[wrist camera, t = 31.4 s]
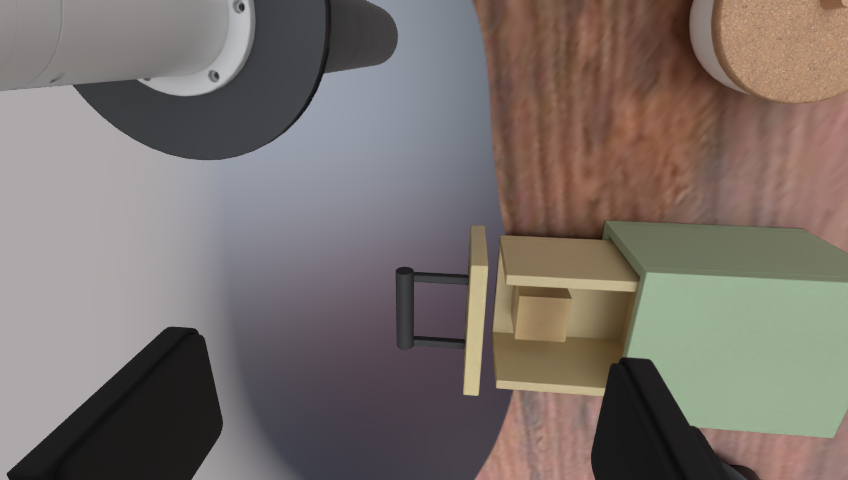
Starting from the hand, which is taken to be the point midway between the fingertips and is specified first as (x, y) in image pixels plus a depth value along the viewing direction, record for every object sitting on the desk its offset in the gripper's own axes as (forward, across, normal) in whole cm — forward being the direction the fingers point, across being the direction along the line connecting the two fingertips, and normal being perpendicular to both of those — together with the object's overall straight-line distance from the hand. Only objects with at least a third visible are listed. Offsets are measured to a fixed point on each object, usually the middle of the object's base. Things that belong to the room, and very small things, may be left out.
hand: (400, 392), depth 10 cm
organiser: (+28, -21, +12) cm, 37 cm away
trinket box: (+28, -20, -10) cm, 36 cm away
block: (+26, -8, +12) cm, 30 cm away
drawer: (+27, -6, +12) cm, 31 cm away
